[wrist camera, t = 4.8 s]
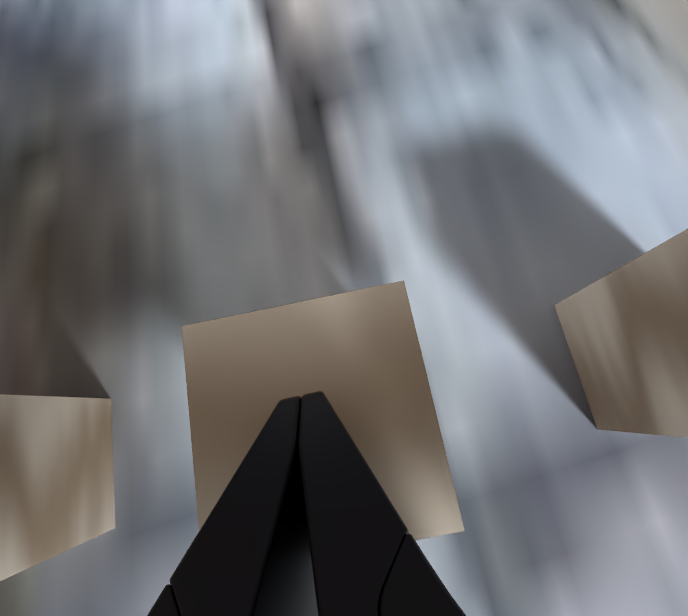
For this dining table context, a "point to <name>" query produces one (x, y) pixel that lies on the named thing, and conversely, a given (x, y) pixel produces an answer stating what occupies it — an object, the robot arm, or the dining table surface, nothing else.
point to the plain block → (335, 382)
